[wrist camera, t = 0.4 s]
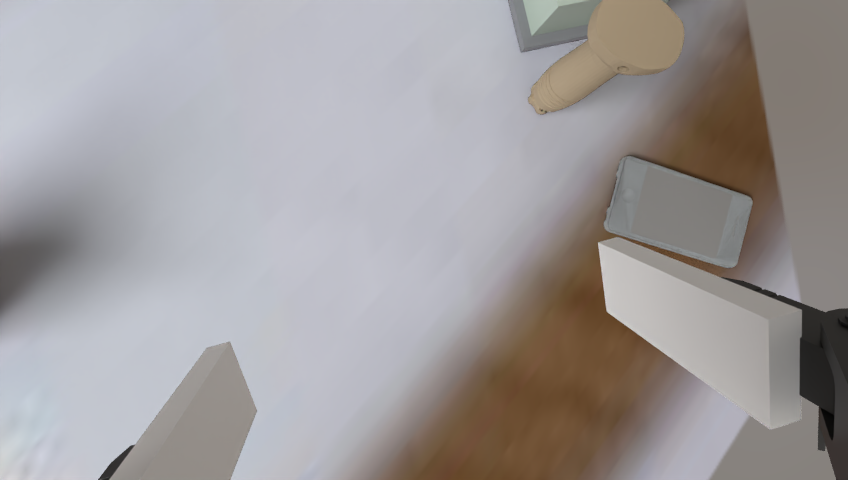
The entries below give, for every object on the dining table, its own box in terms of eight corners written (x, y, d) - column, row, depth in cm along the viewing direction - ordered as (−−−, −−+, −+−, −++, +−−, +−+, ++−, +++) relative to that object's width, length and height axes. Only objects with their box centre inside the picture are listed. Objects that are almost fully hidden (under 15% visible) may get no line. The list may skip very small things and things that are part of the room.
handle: (563, 133, 43) (672, 81, 28) (506, 111, 42) (587, 46, 27) (576, 88, 43) (692, 13, 29) (519, 65, 42) (608, -24, 28)
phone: (619, 155, 45) (626, 153, 44) (744, 198, 48) (755, 197, 46) (599, 229, 45) (606, 229, 43) (726, 268, 47) (736, 269, 46)
